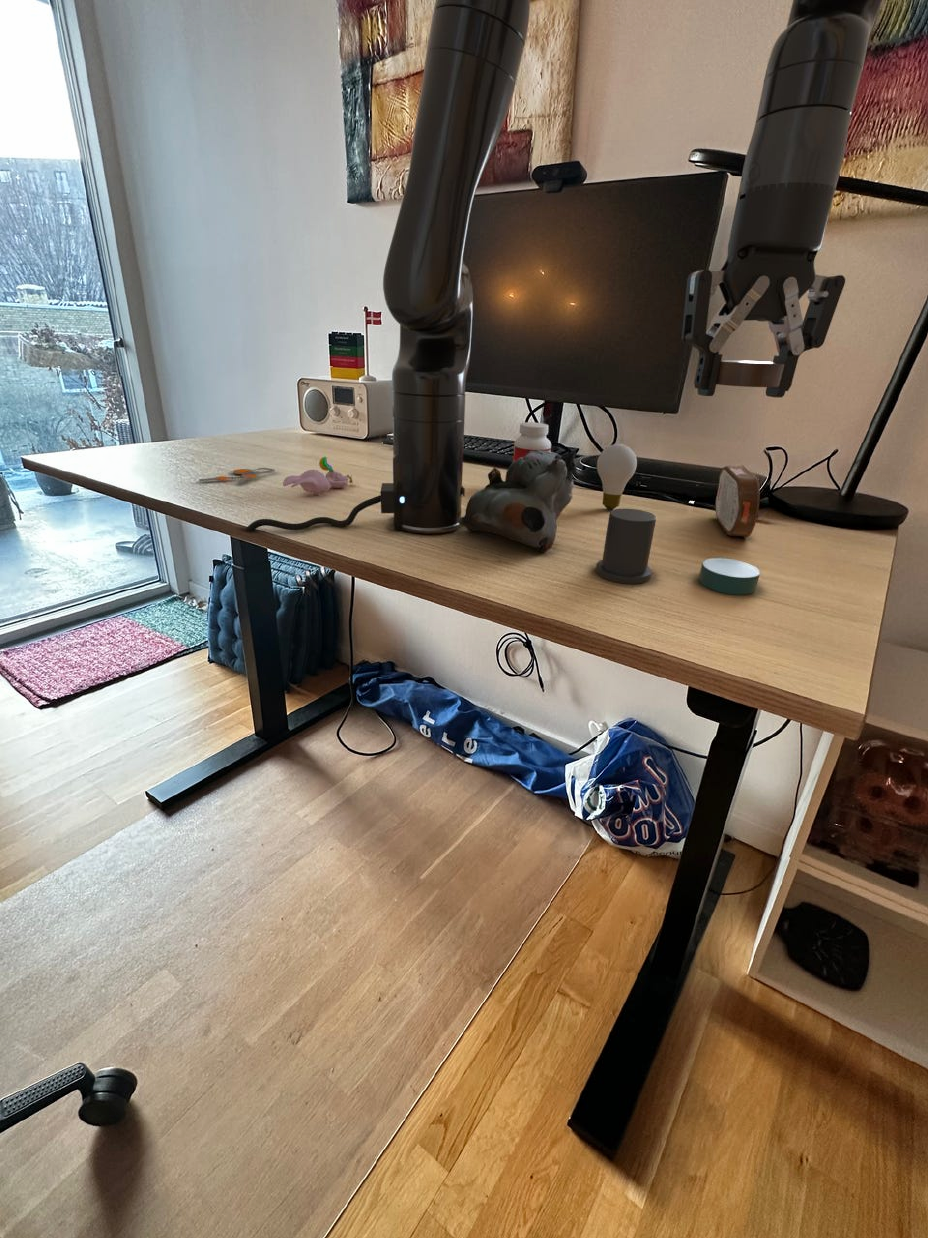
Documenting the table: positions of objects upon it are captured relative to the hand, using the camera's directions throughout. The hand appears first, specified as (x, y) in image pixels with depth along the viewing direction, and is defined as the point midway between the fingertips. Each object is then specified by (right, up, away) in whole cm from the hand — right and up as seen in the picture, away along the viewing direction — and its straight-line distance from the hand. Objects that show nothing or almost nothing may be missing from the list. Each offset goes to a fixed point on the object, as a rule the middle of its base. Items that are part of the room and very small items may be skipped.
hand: (739, 395), depth 57 cm
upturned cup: (-9, -17, +10) cm, 21 cm away
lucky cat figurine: (-21, -12, +20) cm, 31 cm away
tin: (+12, -9, +28) cm, 32 cm away
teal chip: (+2, -18, +8) cm, 20 cm away
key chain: (-66, +3, +44) cm, 80 cm away
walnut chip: (0, +1, -1) cm, 1 cm away
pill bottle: (-16, 0, +44) cm, 46 cm away
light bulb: (-4, -5, +35) cm, 35 cm away
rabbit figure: (-50, -2, +37) cm, 62 cm away
